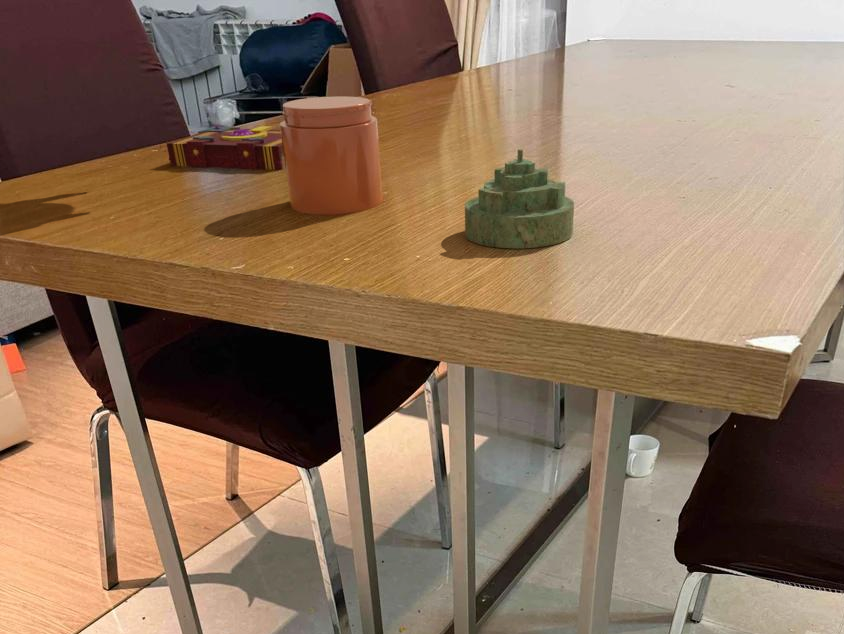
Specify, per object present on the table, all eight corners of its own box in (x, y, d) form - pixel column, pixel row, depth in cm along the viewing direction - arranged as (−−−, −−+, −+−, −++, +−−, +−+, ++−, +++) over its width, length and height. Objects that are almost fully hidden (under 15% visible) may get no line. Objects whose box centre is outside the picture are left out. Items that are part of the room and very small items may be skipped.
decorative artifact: (564, 218, 82) (463, 222, 82) (568, 137, 78) (461, 141, 78) (579, 246, 74) (467, 250, 74) (585, 158, 70) (466, 163, 70)
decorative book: (284, 188, 97) (277, 140, 94) (164, 183, 101) (154, 136, 98) (325, 169, 105) (320, 123, 102) (213, 165, 109) (205, 121, 106)
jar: (296, 239, 79) (278, 112, 73) (291, 217, 86) (275, 99, 80) (390, 231, 80) (381, 105, 74) (378, 210, 87) (369, 93, 81)
